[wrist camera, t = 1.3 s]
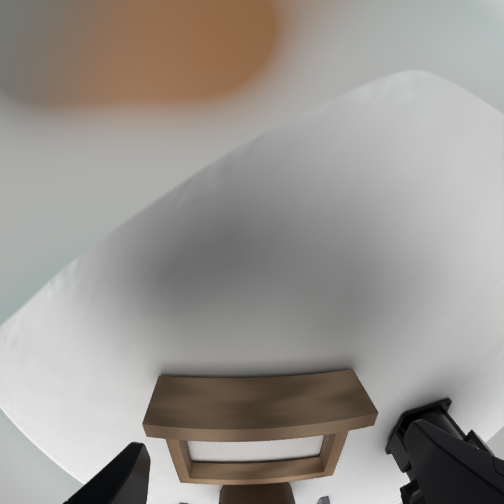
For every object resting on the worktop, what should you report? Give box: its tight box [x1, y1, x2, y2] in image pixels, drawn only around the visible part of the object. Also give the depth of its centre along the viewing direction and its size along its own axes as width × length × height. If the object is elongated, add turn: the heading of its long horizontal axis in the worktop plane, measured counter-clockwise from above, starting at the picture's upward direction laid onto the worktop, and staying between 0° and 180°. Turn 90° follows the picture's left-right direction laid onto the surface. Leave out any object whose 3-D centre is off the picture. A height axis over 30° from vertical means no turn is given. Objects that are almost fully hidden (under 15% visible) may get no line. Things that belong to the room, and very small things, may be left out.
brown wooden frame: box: [142, 369, 378, 485], centre depth 18 cm, size 14×12×5 cm
